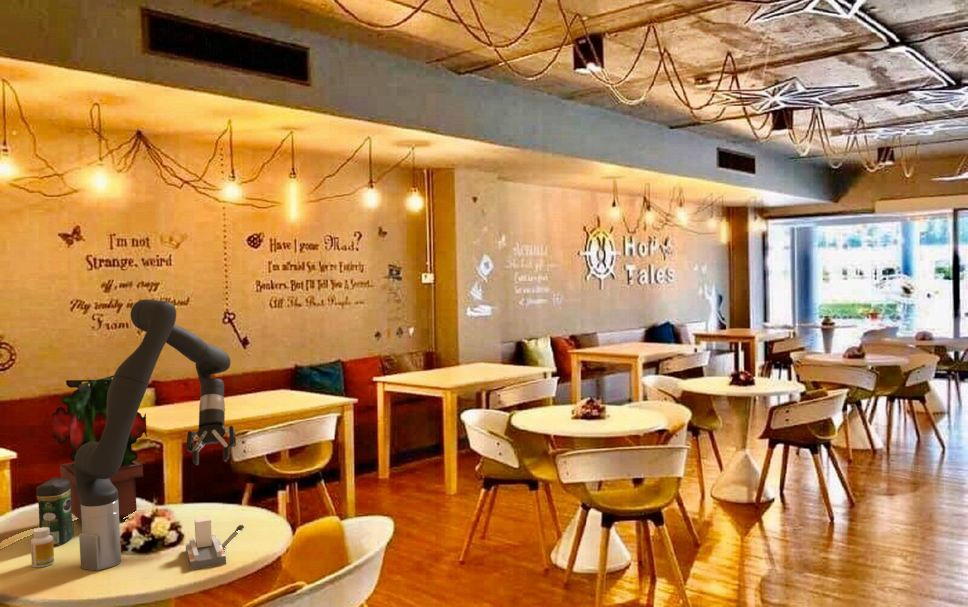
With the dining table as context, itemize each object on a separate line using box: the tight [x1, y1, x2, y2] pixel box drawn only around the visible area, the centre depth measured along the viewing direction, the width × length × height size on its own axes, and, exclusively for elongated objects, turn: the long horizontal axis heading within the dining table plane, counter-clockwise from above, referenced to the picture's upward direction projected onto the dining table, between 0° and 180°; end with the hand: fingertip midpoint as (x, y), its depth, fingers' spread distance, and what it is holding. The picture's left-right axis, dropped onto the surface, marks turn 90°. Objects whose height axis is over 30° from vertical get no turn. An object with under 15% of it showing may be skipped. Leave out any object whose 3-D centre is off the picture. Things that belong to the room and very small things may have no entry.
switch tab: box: [194, 516, 213, 548], centre depth 227 cm, size 4×4×7 cm
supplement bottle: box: [30, 527, 55, 569], centre depth 221 cm, size 5×5×10 cm
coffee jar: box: [36, 477, 75, 547], centre depth 239 cm, size 10×8×19 cm
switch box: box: [185, 534, 227, 571], centre depth 224 cm, size 16×9×4 cm, turn 24°
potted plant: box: [51, 374, 148, 523], centre depth 260 cm, size 22×22×45 cm
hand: (210, 462), depth 244 cm, fingers open, 8 cm apart
